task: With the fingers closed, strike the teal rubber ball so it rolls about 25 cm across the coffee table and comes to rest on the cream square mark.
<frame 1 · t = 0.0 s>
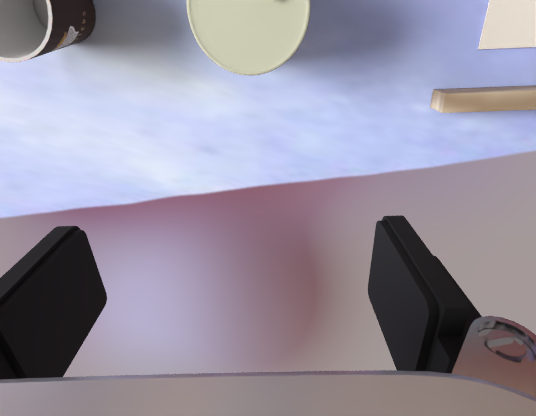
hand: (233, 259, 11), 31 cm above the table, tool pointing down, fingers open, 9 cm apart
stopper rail: (519, 95, 39), on the table
coffee mug: (51, 13, 35), on the table
can: (254, 15, 35), on the table
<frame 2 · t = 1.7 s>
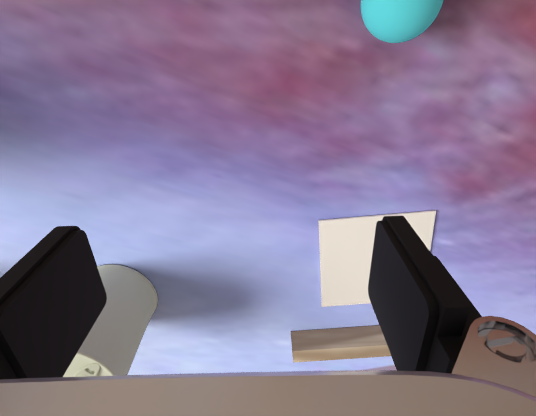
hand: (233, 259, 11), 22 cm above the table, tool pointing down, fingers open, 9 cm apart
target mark: (373, 261, 38), on the table
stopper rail: (369, 331, 43), on the table
can: (119, 293, 40), on the table
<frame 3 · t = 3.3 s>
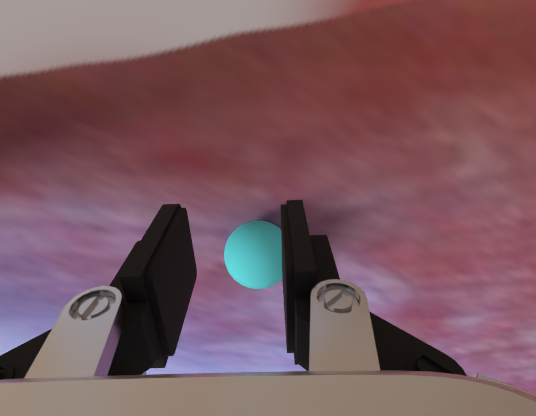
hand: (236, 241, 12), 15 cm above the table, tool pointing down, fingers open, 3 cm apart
ball: (258, 254, 27), on the table
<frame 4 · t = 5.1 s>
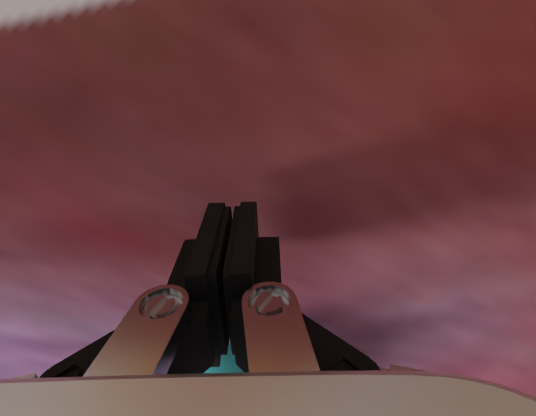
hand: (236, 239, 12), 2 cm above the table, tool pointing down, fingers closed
ball: (244, 409, 15), on the table
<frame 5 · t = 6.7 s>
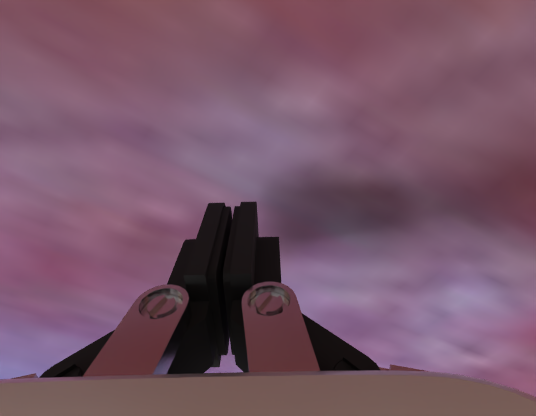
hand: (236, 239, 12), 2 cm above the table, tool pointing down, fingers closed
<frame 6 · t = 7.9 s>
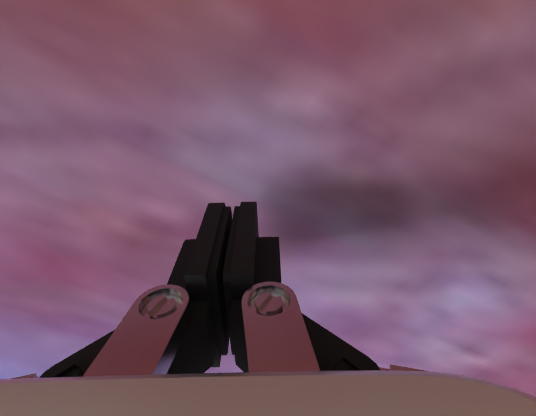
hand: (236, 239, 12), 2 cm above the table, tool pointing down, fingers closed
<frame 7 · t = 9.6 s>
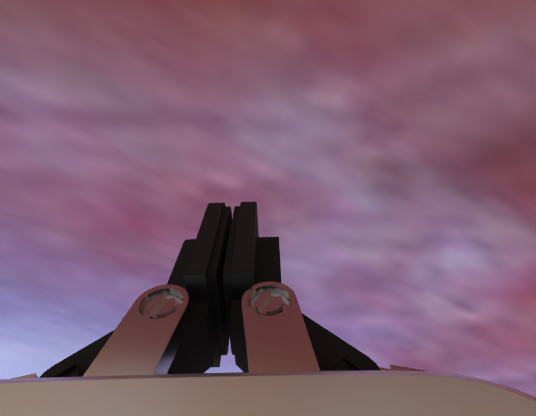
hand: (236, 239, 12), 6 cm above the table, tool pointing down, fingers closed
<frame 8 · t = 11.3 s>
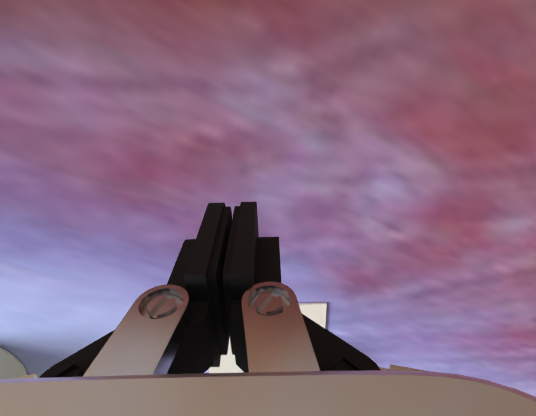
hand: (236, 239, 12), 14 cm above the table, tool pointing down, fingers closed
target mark: (264, 348, 34), on the table
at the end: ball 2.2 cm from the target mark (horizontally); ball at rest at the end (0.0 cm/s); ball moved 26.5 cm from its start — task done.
